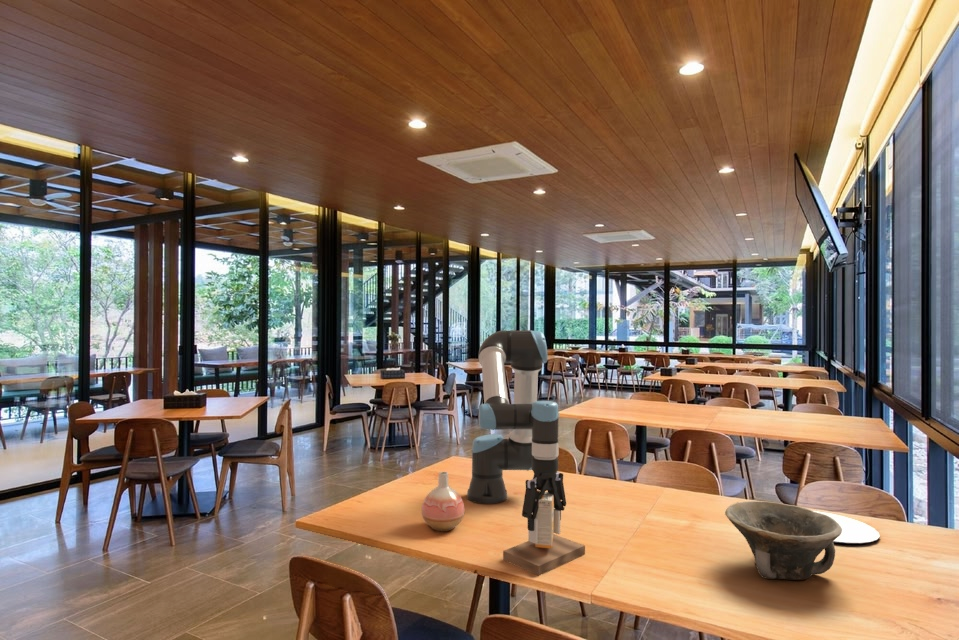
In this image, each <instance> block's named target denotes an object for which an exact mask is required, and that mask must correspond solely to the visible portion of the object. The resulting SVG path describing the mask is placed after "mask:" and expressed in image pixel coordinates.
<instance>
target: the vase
mask: <svg viewBox="0 0 959 640" xmlns="http://www.w3.org/2000/svg"><path fill="white" fill-rule="evenodd" d="M437 482H438V484H437V486H436V487H435V488H434V489H432V490H431V491H430V492H428V493H427V495H426V496H425V497H424V500H423V503H422V506H421V515H422V518H423V520H424V522H425V523H426V524H427V525H428V526H429V527H430V528H431V529H433V530H434V531H436V532H437V531H438V532H447V531H452V530H453V529H455V527H457V526H458V525H459V524H460V523H461V522H462V520H463V518H464V516H465V503H464V500H463V498H462V496H461V495H460V493H459V492H458V491H456V490H455V489H453V488H452V487H451V486H449V472H447V471H440V472H439V473H438V481H437Z"/></svg>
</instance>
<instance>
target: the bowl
mask: <svg viewBox="0 0 959 640" xmlns="http://www.w3.org/2000/svg"><path fill="white" fill-rule="evenodd" d="M814 511H815V510H811V509H808V508H806V507H802V506H799V505H793V504H786V503H783V502H782V503H779V502H773V501H765V500H764V501H763V500H761V501H759V500H757V501H756V500H753V501H752V500H751V501H750V500H749V501H740V502H739V501H738V502H735V503H733V504H730V505H729V506H728V507H727V508H726V509H725V512H724V513H725V514H724V515H725V517H726V518H727V519H728V521H730V523H731V524H732V525H733V526H734V527H735V528H736V529H737V530H738V531H739V533H740V534H742V535H741V536H743V537H744V539H745V540H746V542H747V544H748V546H749V548H750V551H751V553H752V555H753V557H754V566H756V570H757V572H758V573H759V575H760V576H761V577H762V578H765V579H775V580H777V579H779V580H790V581H793V580H795V581H796V580H798V581H799V580H800V581H802V580H806V579H809V578H811V577H812V575H813V576H814V575H821V574H824V573H826V572H827V571H829V570H830V569H831V568H832V566H833V564H834V561H835V557H836V548H835V542H833V541H834V540H835V539H836V538H837V537H839V536H840V535H841V533H842V528H841V526H840V525H839V523H837V522H836V521H835V520H834V519H832V518H831V517H829V516H827V515H825V514H821V513H817V512H814ZM823 551H824V555H823V557H822V558H821V559H820V560H818V561H815V560H816V559H817V557H818V556H819V555H820V554H821V553H822V552H823Z"/></svg>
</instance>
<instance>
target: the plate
mask: <svg viewBox="0 0 959 640" xmlns="http://www.w3.org/2000/svg"><path fill="white" fill-rule="evenodd" d="M813 511H814V512H817V513H821V514H825V515H827V516H829V517H831V518H832V519H834V520H835V521H836V522H837V523H839V525H840V526H841V528H842V533H841V535H840V536H839V537H837V538H836V539H835V540H834V541H833V543H839V544H845V545H846V544H852V545H854V544H856V545H857V544H860V545H861V544H870V543H873V542H875V541H878V540H879V539H880V537H881V535H880V533H879V531H877V530H876V528H874V527H873V526H871V525H868V523H865V522H862V521H860V520H857V519H854V518H850V517H847V516H844V515H839V514H835V513H831V512H830V513H829V512H822V511H817V510H813Z"/></svg>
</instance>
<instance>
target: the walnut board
mask: <svg viewBox="0 0 959 640" xmlns="http://www.w3.org/2000/svg"><path fill="white" fill-rule="evenodd" d="M584 555H586V545H585V544H582V543H579V542H577V541H574V540H571V539H568V538H565V537H564V536H560V535H558V534H556V533H554V537H553V541H552V548H541V547H535V543H533V542H531V541H528V540H526V541H525V542H522V543H519V544H517V545H515V546H512V547H510V548H507V549H505V550H502V560H503V561H504V562H507V563H509V564H512V565H513V566H516V567H518V568H521V569H523V570H524V571H527V572H529V573H532V574H534V575H536V576H539V577H540V576H541V574H542V575H544V574H546V573H548V572H550V571H552V570H555V569H557V568H558V567H560V566H563V565H566V564H567V563H569V562H572V561H573V560H575V559H577V558H580V557H583V556H584Z"/></svg>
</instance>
